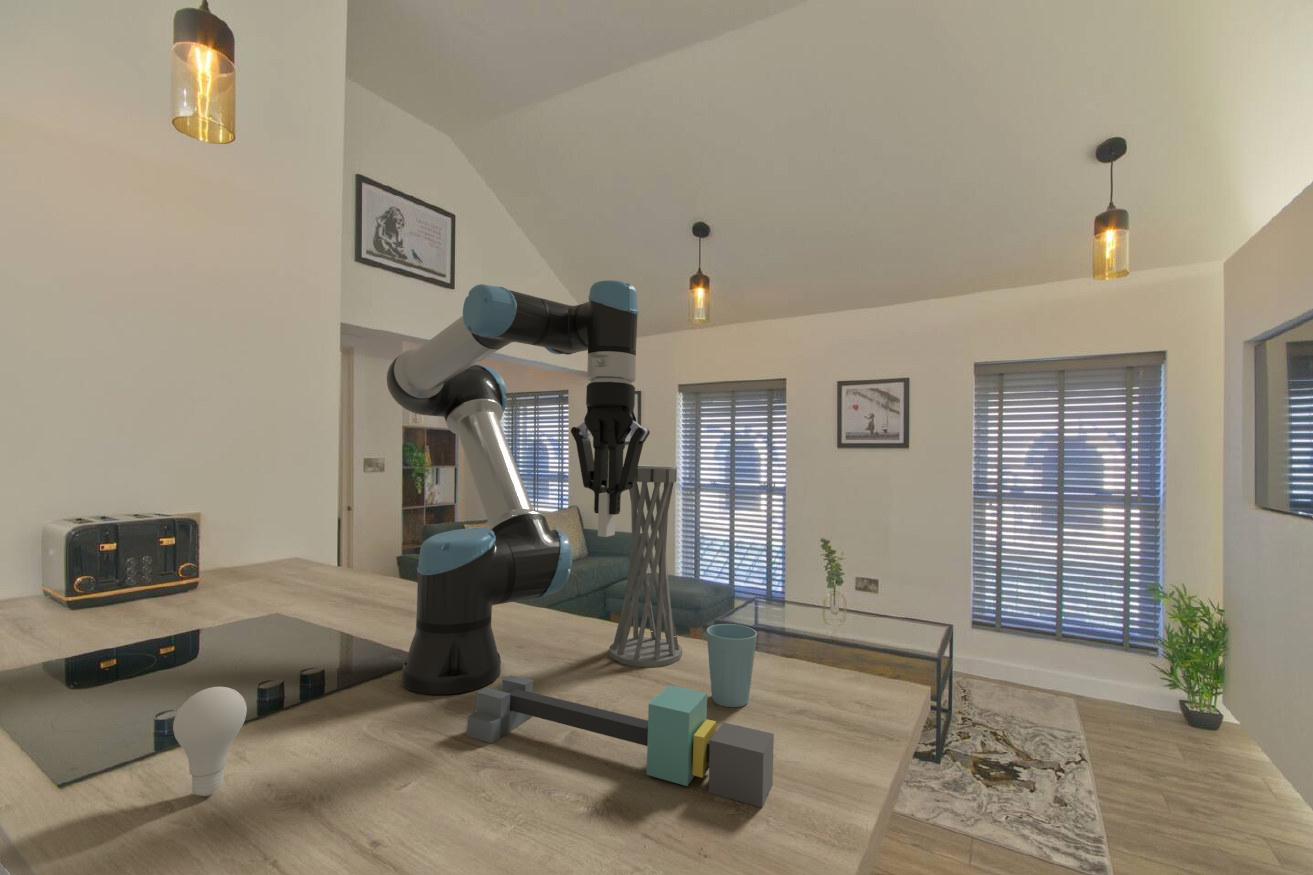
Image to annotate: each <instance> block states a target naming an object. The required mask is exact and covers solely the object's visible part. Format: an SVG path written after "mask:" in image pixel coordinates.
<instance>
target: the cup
mask: <svg viewBox="0 0 1313 875" xmlns="http://www.w3.org/2000/svg"><path fill="white" fill-rule="evenodd" d="M757 638H758V632H757V630H755V629H753V628H751V627H748V626H746V625H741V624H733V623H722V624H721V623H720V624H713V625H710V626H708V627H707V628H706V642H707V650H708V654H707V655H708V665H709V677H710V689H711V690H710V691H711V699H712V701H713V702H714V703H715V704H717V705H719V706H722V707H726V708H742V707H743V706H746V705H747V704H748V702H749V699H750V691H751V685H752V684H751V683H752V676H753V670H754V662H755V655H756V654H755V652H756V645H757Z"/></svg>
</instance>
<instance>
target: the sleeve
mask: <svg viewBox="0 0 1313 875" xmlns="http://www.w3.org/2000/svg"><path fill="white" fill-rule="evenodd" d="M707 705H708V693H707V692H702V691H698V690H693V689H687V688H684V687H679V686H673V685H668V686H666V687H665V688H664V690H662V691H661V692H660V693H659V694H658V695H657V696H655V698H654V699H652V700H651V701H650V702H649V703H648V710H647V711H648V713H647V714H648V715H647V720H648V743H647V746H646V748H647V749H646V750H647V751H646V776H651V777H654V778H657V779H661V780H664V781H668V782H672V783H675V784H679V785H681V786H686V787H688V786H689V784H690V783H691V782H692V781H693V779H694V777H695V776H694V775H693V758H692V753H693V737H694V734H695V733H696V732H697V730H698V729H699V728H700V727H701V725H702V724H703V723H704V722H705V721H706V719H707V718H708V717H707V714H708V713H707V709H708V708H707V707H708V706H707Z"/></svg>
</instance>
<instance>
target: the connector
mask: <svg viewBox="0 0 1313 875" xmlns="http://www.w3.org/2000/svg"><path fill="white" fill-rule="evenodd" d="M774 735H775V734H774V733H772V732H767V731H764V730H760V729H754V728H750V727H746V726H741V725H737V724H733V723H728V722H724V721H723V722H722V723H721V725H720V726H719V727H718V728H717V729H716V733H715V734H714V735H713V737H712V738H711V739H710V756H709V769H708V794H712V795H716V796H719V797H723V798H726V799H729V800H732V801H733V800H734V801H736V802H739V803H744V804H747V805H751V806H755V807H756V808H757V807H758V808H761V809H763V808H764V805H765V802H766V800H767V798H768V796H769V794H770V791H771V789H772V787H773V785H774V784H773V783H774V782H773V779H774V743H775V742H774V738H775V736H774Z"/></svg>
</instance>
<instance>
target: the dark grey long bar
mask: <svg viewBox="0 0 1313 875" xmlns="http://www.w3.org/2000/svg"><path fill="white" fill-rule="evenodd" d="M510 710H511V711H515V712H519V713H522V714H526V715H530V716H532V717H535V718H538V719H542V720H546V721H549V722H554V723H558V724H561V725H564V726H569V727H573V728H577V729H581V730H585V731H587V732H588V731H589V732H592V733H596V734H600V735H603V736H608V737H610V738H615V739H618V740H622V741H627V742H630V743H634V744H637V745H640V746H641V745H642V746H645V747H647V743H648V719H643V718H639V717H635V716H630V715H627V714H623V713H618V712H615V711H611V710H607V709H602V708H598V707H593V706H590V705H587V704H586V705H585V704H583V703H582V704H581V703H576V702H574V701H569V700H564V699H561V698H558V697H557V698H556V697H552V696H548V695H544V694H540V693H537V692H533V693H532V692H528V691H524V690H520V689H515V690H514V691H512V692H510ZM716 731H717V721H716V720H711V719H707V718H706V721H705V722H704V723H703V724H702V725H701V727H700V728H699V729H698V730H697V732H696V733H695V734H694V737H693V753H692V758H693V775H694V777H698V778H704V777H705V775H706V774H707V772H709V756H710V739H711V738H712V737H713V735H714V734H715V733H716Z"/></svg>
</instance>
